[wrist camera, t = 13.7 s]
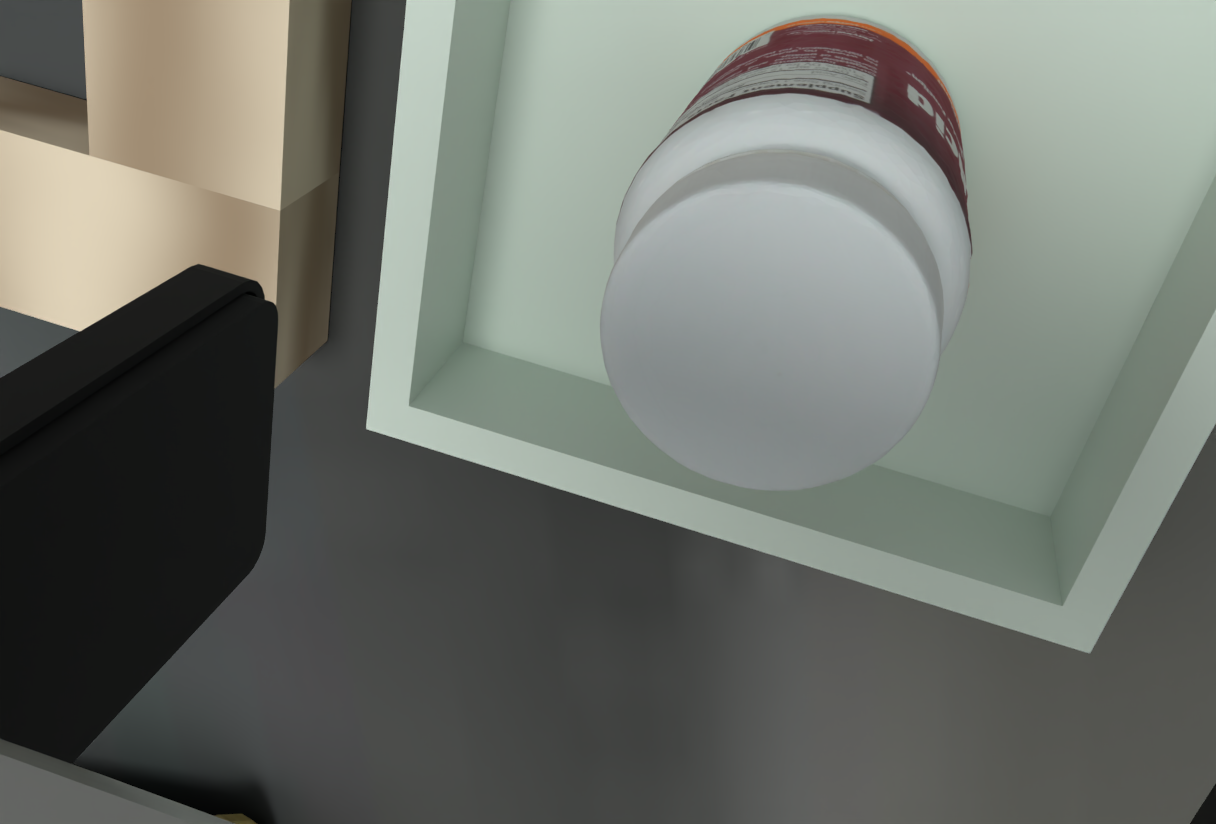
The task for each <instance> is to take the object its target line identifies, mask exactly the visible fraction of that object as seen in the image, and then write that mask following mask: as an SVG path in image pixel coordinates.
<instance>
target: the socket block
mask: <svg viewBox="0 0 1216 824" xmlns="http://www.w3.org/2000/svg"><path fill="white" fill-rule="evenodd" d="M351 1H352V0H82V3H83V25H84V47H85V69H86V90H87V101H86V100H83V99H79V98H76V97H72V96H69V95H65V94H62V93H58V92H55V91H51V90H48V89H44V88H40V87H37V86H33V85H30V84H26V83H23V82H19V81H16V80H12V79H9V78H5V77H2V76H0V307H3V308H6V309H10V310H13V311H16V312H19V313H23V314H26V315H29V316H32V317H35V318H39V319H42V320H45V321H48V322H52V323H55V324H58V325H61V326H65V327H68V328H71V329H74V330H77V331H82V330H83V329H85V328H87V327H88V326H90V325H92V324H94V323H95V322H97V321H99V320H100V319H102V318H104V317H105V316H107V315H109V314H111V313H112V312H114V311H116V310H117V309H119V308H121V307H122V306H124V305H126V304H128V303H129V302H131V301H133V300H134V299H136V298H138V297H139V296H141V295H143V294H145V293H146V292H148V291H150V290H151V289H153V288H155V287H157V286H158V285H160V284H162V283H163V282H165V281H167V280H168V279H170V278H172V277H174V276H175V275H177V274H179V273H180V272H182V271H184V270H185V269H187V268H189V267H191V266H194V265H197V264H201V265H205V266H209V267H212V268H215V269H219V270H222V271H225V272H228V273H232V274H235V275H238V276H241V277H245V278H248V279H251V280H255V281H257V282H258V283H259V284H260V285H261V286H262V289H263V292H264V295H265V300H268V301H271V302H273V303H274V304H275V305H276V307H277V311H278V335H277V352H276V368H275V385H274V389H275V388H276V387H277V386H278V385H279V384H280V383H281V382H283V381H284V380H285V379H286V378H287V377H288V376H289V375H290V374H291V373H292V372H293V371H295V370H296V369H297V368H298V367H299V366H300V365H301V364H302V363H303V362H304V361H305V360H307V359H308V358H309V357H310V356H311V355H312V354H313V353H314V352H315V351H316V350H317V349H319V348H320V347H321V346H322V345H323V344H324V343H325V342H326V341H327V339H328V325H329V311H330V297H331V283H332V269H333V255H334V240H335V226H336V212H337V198H338V184H339V170H340V156H341V142H342V128H343V114H344V100H345V85H346V71H347V57H348V43H349V29H350V15H351Z"/></svg>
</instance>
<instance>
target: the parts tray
mask: <svg viewBox="0 0 1216 824" xmlns="http://www.w3.org/2000/svg"><path fill="white" fill-rule="evenodd" d="M811 15H841V16H848V17H854V18H859V19H863V20H867V21H870V22H873V23H876V24H879V25H882V26H885V27H886V28H888V29H890V30H892V31H894V32H896V33H897V34H899V35H901V36H902V37H904V38H906V39H907V40H908V41H910V42H911V43H912V44H914V45H915V46H916V47H917V48H918V49H919V50H920V51H922V52H923V53H924V54H925V55H926V57H927V58H928V59H929V60H930V61H931V62H932V63H933V64H934V65H935V67H936V68H937V70H938V71H939V72H940V74H941V75H942V77H943V78H944V81H945V83H946V85H947V87H948V89H949V91H950V93H951V95H952V98H953V101H954V104H955V107H956V110H957V114H958V117H959V121H960V127H961V135H962V146H963V154H964V159H965V175H966V188H967V194H968V198H967V209H968V220H969V225H970V231H971V240H972V252H973V253H972V256H971V259H970V276H969V288H968V293H967V299H966V302H965V305H964V308H963V311H962V314H961V317H960V320H959V322H958V324H957V327H956V329H955V331H954V333H953V336H952V338H951V340H950V341H949V343H948V345H947V347H946V349H945V350H944V352H943V353H942V355H941V356H940V361H939V366H938V372H937V376H936V379H935V382H934V386H933V389H932V391H931V394H930V396H929V399H928V401H927V403H926V405H925V407H924V409H923V411H922V413H921V414H920V416H919V418H918V419H917V421H916V422H915V424H914V425H913V426H912V428H911V429H910V431H909V432H908V433H907V434H906V435H905V436H904V437H903V439H902V440H901V441H900V442H898V443H897V444H896V445H895V446H894V447H893V448H892V449H891V450H890V451H889V452H888V453H887V454H886V455H884V456H883V457H882V458H880V459H879V460H878V461H876V462H875V463H873V464H871V465H869V466H868V467H866V468H864V469H863V470H861V471H859V472H857V473H855V474H853V475H851V476H848V477H846V478H843V479H841V480H838V481H836V482H832V483H829V484H825V485H822V486H817V487H813V488H807V489H801V490H792V491H769V490H754V489H749V488H743V487H738V486H735V485H731V484H727V483H723V482H720V481H716V480H713V479H711V478H708V477H706V476H704V475H702V474H699V473H697V472H695V471H692V470H690V469H688V468H687V467H685V466H683V465H681V464H679V463H678V462H676V461H675V460H674V459H672V458H671V457H670V456H668V455H667V454H665V453H664V452H663V451H661V450H660V449H659V448H658V447H657V446H655V445H654V444H653V443H652V442H651V441H650V440H649V439H648V438H647V437H646V436H645V435H644V434H643V433H642V432H641V431H640V429H639V428H638V427H637V426H636V425H635V424H634V422H633V421H632V420H631V419H630V417H629V416H628V414H627V413H626V411H625V410H624V408H623V407H622V405H621V403H620V401H619V399H618V397H617V395H616V393H615V391H614V389H613V387H612V385H611V383H610V381H609V377H608V374H607V371H606V368H605V365H604V360H603V354H602V347H601V338H600V317H601V308H602V302H603V297H604V293H605V289H606V285H607V282H608V279H609V276H610V273H611V271H612V268H613V266H614V240H615V231H616V223H617V220H618V216H619V213H620V209H621V206H622V202H623V199H624V197H625V194H626V193H627V191H628V189H629V187H630V185H631V183H632V181H633V179H634V177H635V175H636V174H637V172H638V170H639V169H640V167H641V166H642V164H643V163H644V161H645V160H646V159H647V157H648V156H649V155H650V154H651V153H652V152H653V151H654V150H655V149H656V147H657V146H658V145H659V144H660V142H661V141H662V140H663V139H664V137H665V136H666V135H667V133H668V132H669V130H670V129H671V127H672V126H673V125H674V124H675V122H676V121H677V120H678V118H679V117H680V116H681V114H682V113H683V112H684V111H685V109H686V108H687V106H688V104H689V103H690V102H691V101H692V100H693V98H694V97H695V96H696V95H697V94H698V92H699V91H700V89H701V88H702V87H703V85H704V84H705V83H706V82H707V80H708V79H709V77H710V76H711V75H712V74H713V73H714V71H715V70H716V69H717V67H718V66H719V65H720V64H721V63H722V62H723V61H724V60H725V59H726V58H727V57H728V56H729V54H730V53H732V52H733V51H734V50H735V49H736V48H737V47H738V46H740V45H741V44H742V43H744V42H745V41H746V40H748V39H749V38H751V37H752V36H754V35H756V34H757V33H759V32H761V31H763V30H765V29H767V28H769V27H771V26H773V25H776V24H778V23H780V22H783V21H786V20H790V19H794V18H799V17H805V16H811ZM1215 424H1216V0H407V3H406V14H405V24H404V35H403V45H402V56H401V66H400V77H399V87H398V98H397V108H396V119H395V129H394V140H393V150H392V161H391V172H390V182H389V193H388V203H387V214H386V224H385V235H384V245H383V256H382V266H381V277H380V287H379V298H378V308H377V319H376V330H375V340H374V351H373V361H372V372H371V382H370V393H369V403H368V414H367V424H366V429H368V430H371V431H375V432H378V433H381V434H384V435H387V436H391V437H394V438H397V439H400V440H403V441H407V442H410V443H413V444H416V445H420V446H423V447H426V448H429V449H432V450H436V451H439V452H442V453H445V454H449V455H452V456H455V457H458V458H461V459H465V460H468V461H471V462H474V463H478V464H481V465H484V466H487V467H490V468H494V469H497V470H500V471H503V472H507V473H510V474H513V475H516V476H519V477H523V478H526V479H529V480H532V481H536V482H539V483H542V484H545V485H548V486H552V487H555V488H558V489H561V490H565V491H568V492H571V493H574V494H577V495H581V496H584V497H587V498H590V499H593V500H597V501H600V502H603V503H606V504H610V505H613V506H616V507H619V508H622V509H626V510H629V511H632V512H635V513H639V514H642V515H645V516H648V517H651V518H655V519H658V520H661V521H664V522H668V523H671V524H674V525H677V526H680V527H684V528H687V529H690V530H693V531H697V532H700V533H703V534H706V535H709V536H713V537H716V538H719V539H722V540H726V541H729V542H732V543H735V544H738V545H742V546H745V547H748V548H751V549H754V550H758V551H761V552H764V553H767V554H771V555H774V556H777V557H780V558H783V559H787V560H790V561H793V562H796V563H800V564H803V565H806V566H809V567H812V568H816V569H819V570H822V571H825V572H829V573H832V574H835V575H838V576H841V577H845V578H848V579H851V580H854V581H858V582H861V583H864V584H867V585H870V586H874V587H877V588H880V589H883V590H887V591H890V592H893V593H896V594H899V595H903V596H906V597H909V598H912V599H916V600H919V601H922V602H925V603H928V604H932V605H935V606H938V607H941V608H944V609H948V610H951V611H954V612H957V613H961V614H964V615H967V616H970V617H973V618H977V619H980V620H983V621H986V622H990V623H993V624H996V625H999V626H1002V627H1006V628H1009V629H1012V630H1015V631H1019V632H1022V633H1025V634H1028V635H1031V636H1035V637H1038V638H1041V639H1044V640H1048V641H1051V642H1054V643H1057V644H1060V645H1064V646H1067V647H1070V648H1073V649H1077V650H1080V651H1083V652H1086V653H1089V654H1090V653H1091V651H1092V649H1093V647H1094V645H1095V643H1096V642H1097V640H1098V638H1099V636H1100V634H1101V632H1102V631H1103V629H1104V627H1105V625H1106V623H1107V621H1108V620H1109V618H1110V616H1111V614H1112V612H1113V610H1114V609H1115V607H1116V605H1117V603H1118V601H1119V599H1120V598H1121V596H1122V594H1123V592H1124V590H1125V588H1126V587H1127V585H1128V583H1129V581H1130V579H1131V577H1132V576H1133V574H1134V572H1135V570H1136V568H1137V567H1138V565H1139V563H1140V561H1141V559H1142V557H1143V556H1144V554H1145V552H1146V550H1147V548H1148V546H1149V545H1150V543H1151V541H1152V539H1153V537H1154V535H1155V534H1156V532H1157V530H1158V528H1159V526H1160V524H1161V523H1162V521H1163V519H1164V517H1165V515H1166V513H1167V512H1168V510H1169V508H1170V506H1171V504H1172V502H1173V501H1174V499H1175V497H1176V495H1177V493H1178V491H1179V490H1180V488H1181V486H1182V484H1183V482H1184V481H1185V479H1186V477H1187V475H1188V473H1189V471H1190V470H1191V468H1192V466H1193V464H1194V462H1195V460H1196V459H1197V457H1198V455H1199V453H1200V451H1201V449H1202V448H1203V446H1204V444H1205V442H1206V440H1207V438H1208V437H1209V435H1210V433H1211V431H1212V429H1213V427H1214V426H1215Z"/></svg>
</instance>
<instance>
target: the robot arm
mask: <svg viewBox="0 0 1216 824" xmlns="http://www.w3.org/2000/svg"><path fill="white" fill-rule="evenodd" d="M277 335H278V311H277V307H276V305H275V304H274V303H273V302H271V301H268V300H265V295H264V292H263V289H262V286H261V285H260V284H259V283H258V282H257V281H255V280H251V279H248V278H245V277H241V276H238V275H235V274H232V273H228V272H225V271H222V270H219V269H215V268H212V267H209V266H205V265H201V264H197V265H194V266H191V267H189V268H187V269H185V270H184V271H182V272H180V273H179V274H177V275H175V276H174V277H172V278H170V279H168V280H167V281H165V282H163V283H162V284H160V285H158V286H157V287H155V288H153V289H151V290H150V291H148V292H146V293H145V294H143V295H141V296H139V297H138V298H136V299H134V300H133V301H131V302H129V303H128V304H126V305H124V306H122V307H121V308H119V309H117V310H116V311H114V312H112V313H111V314H109V315H107V316H105V317H104V318H102V319H100V320H99V321H97V322H95V323H94V324H92V325H90V326H88V327H87V328H85V329H83V330H82V331H80V332H78V333H77V334H75V335H73V336H71V337H70V338H68V339H66V340H65V341H63V342H61V343H60V344H58V345H56V346H54V347H53V348H51V349H49V350H48V351H46V352H44V353H43V354H41V355H39V356H37V357H36V358H34V359H32V360H31V361H29V362H27V363H26V364H24V365H22V366H20V367H19V368H17V369H15V370H14V371H12V372H10V373H9V374H7V375H5V376H3V377H2V378H0V824H235V823H232V822H229V821H227V820H224V819H221V818H218V817H216V816H213V815H210V814H207V813H205V812H202V811H199V810H197V809H194V808H191V807H188V806H186V805H183V804H180V803H177V802H175V801H172V800H169V799H167V798H164V797H161V796H158V795H156V794H153V793H150V792H148V791H145V790H142V789H139V788H137V787H134V786H131V785H128V784H126V783H123V782H120V781H118V780H115V779H112V778H109V777H107V776H104V775H101V774H99V773H96V772H93V771H90V770H87V769H84V768H82V767H79V766H76V765H73V764H72V763H73V762H74V761H75V760H76V758H77V757H78V756H79V755H80V754H81V753H82V752H83V751H84V750H85V749H86V748H87V747H88V746H89V745H90V743H91V742H92V741H93V740H94V739H95V738H96V737H97V736H98V735H99V734H100V733H101V732H102V731H103V730H104V728H105V727H106V726H107V725H108V724H109V723H110V722H111V721H112V720H113V719H114V718H115V717H116V716H117V715H118V713H119V712H120V711H121V710H122V709H123V708H124V707H125V706H126V705H127V704H128V703H129V702H130V701H131V699H132V698H133V697H134V696H135V695H136V694H137V693H138V692H139V691H140V690H141V689H142V688H143V687H144V686H145V684H146V683H147V682H148V681H149V680H150V679H151V678H152V677H153V676H154V675H155V674H156V673H157V672H158V671H159V669H160V668H161V667H162V666H163V665H164V664H165V663H166V662H167V661H168V660H169V659H170V658H171V657H172V656H173V654H174V653H175V652H176V651H177V650H178V649H179V648H180V647H181V646H182V645H183V644H184V643H185V642H186V641H187V639H188V638H189V637H190V636H191V635H192V634H193V633H194V632H195V631H196V630H197V629H198V628H199V627H200V625H201V624H202V623H203V622H204V621H205V620H206V619H207V618H208V617H209V616H210V615H211V614H212V613H213V612H214V610H215V609H216V608H217V607H218V606H219V605H220V604H221V603H222V602H223V601H224V600H225V599H226V598H227V597H228V595H229V594H230V593H231V592H232V591H233V590H234V589H235V588H236V587H237V586H238V585H239V584H240V583H241V582H242V580H243V579H244V578H245V577H246V576H247V575H248V574H249V573H250V571H251V570H252V569H253V567H254V566H255V564H256V562H257V560H258V558H259V556H260V553H261V551H262V548H263V544H264V540H265V533H266V516H267V500H268V483H269V467H270V451H271V434H272V418H273V401H274V385H275V368H276V352H277ZM1190 824H1216V784H1215V786H1214V787H1213V789H1212V790H1211V792H1210V793H1209V795H1208V797H1207V798H1206V800H1205V801H1204V803H1203V804H1202V806H1201V807H1200V809H1199V810H1198V812H1197V813H1196V815H1195V817H1194V818H1193V820H1192V821H1191V823H1190Z"/></svg>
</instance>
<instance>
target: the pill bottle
mask: <svg viewBox="0 0 1216 824" xmlns="http://www.w3.org/2000/svg"><path fill="white" fill-rule="evenodd" d="M967 198H968V194H967V188H966V175H965V159H964V154H963V146H962V135H961V127H960V121H959V117H958V114H957V110H956V107H955V104H954V101H953V98H952V95H951V93H950V91H949V89H948V87H947V85H946V83H945V81H944V78H943V77H942V75H941V74H940V72H939V71H938V70H937V68H936V67H935V65H934V64H933V63H932V62H931V61H930V60H929V59H928V58H927V57H926V55H925V54H924V53H923V52H922V51H920V50H919V49H918V48H917V47H916V46H915V45H914V44H912V43H911V42H910V41H908V40H907V39H906V38H904V37H902V36H901V35H899V34H897V33H896V32H894V31H892V30H890V29H888V28H886V27H885V26H882V25H879V24H876V23H873V22H870V21H867V20H863V19H859V18H854V17H848V16H841V15H811V16H805V17H799V18H794V19H790V20H786V21H783V22H780V23H778V24H776V25H773V26H771V27H769V28H767V29H765V30H763V31H761V32H759V33H757V34H756V35H754V36H752V37H751V38H749V39H748V40H746V41H745V42H744V43H742V44H741V45H740V46H738V47H737V48H736V49H735V50H734V51H733V52H732V53H730V54H729V56H728V57H727V58H726V59H725V60H724V61H723V62H722V63H721V64H720V65H719V66H718V67H717V69H716V70H715V71H714V73H713V74H712V75H711V76H710V77H709V79H708V80H707V82H706V83H705V84H704V85H703V87H702V88H701V89H700V91H699V92H698V94H697V95H696V96H695V97H694V98H693V100H692V101H691V102H690V103H689V104H688V106H687V108H686V109H685V111H684V112H683V113H682V114H681V116H680V117H679V118H678V120H677V121H676V122H675V124H674V125H673V126H672V127H671V129H670V130H669V132H668V133H667V135H666V136H665V137H664V139H663V140H662V141H661V142H660V144H659V145H658V146H657V147H656V149H655V150H654V151H653V152H652V153H651V154H650V155H649V156H648V157H647V159H646V160H645V161H644V163H643V164H642V166H641V167H640V169H639V170H638V172H637V174H636V175H635V177H634V179H633V181H632V183H631V185H630V187H629V189H628V191H627V193H626V194H625V197H624V199H623V202H622V206H621V209H620V213H619V216H618V220H617V223H616V231H615V240H614V266H613V268H612V271H611V273H610V276H609V279H608V282H607V285H606V289H605V293H604V297H603V302H602V308H601V317H600V338H601V347H602V354H603V360H604V365H605V368H606V371H607V374H608V377H609V381H610V383H611V385H612V387H613V389H614V391H615V393H616V395H617V397H618V399H619V401H620V403H621V405H622V407H623V408H624V410H625V411H626V413H627V414H628V416H629V417H630V419H631V420H632V421H633V422H634V424H635V425H636V426H637V427H638V428H639V429H640V431H641V432H642V433H643V434H644V435H645V436H646V437H647V438H648V439H649V440H650V441H651V442H652V443H653V444H654V445H655V446H657V447H658V448H659V449H660V450H661V451H663V452H664V453H665V454H667V455H668V456H670V457H671V458H672V459H674V460H675V461H676V462H678V463H679V464H681V465H683V466H685V467H687V468H688V469H690V470H692V471H695V472H697V473H699V474H702V475H704V476H706V477H708V478H711V479H713V480H716V481H720V482H723V483H727V484H731V485H735V486H738V487H743V488H749V489H754V490H769V491H792V490H801V489H807V488H813V487H817V486H822V485H825V484H829V483H832V482H836V481H838V480H841V479H843V478H846V477H848V476H851V475H853V474H855V473H857V472H859V471H861V470H863V469H864V468H866V467H868V466H869V465H871V464H873V463H875V462H876V461H878V460H879V459H880V458H882V457H883V456H884V455H886V454H887V453H888V452H889V451H890V450H891V449H892V448H893V447H894V446H895V445H896V444H897V443H898V442H900V441H901V440H902V439H903V437H904V436H905V435H906V434H907V433H908V432H909V431H910V429H911V428H912V426H913V425H914V424H915V422H916V421H917V419H918V418H919V416H920V414H921V413H922V411H923V409H924V407H925V405H926V403H927V401H928V399H929V396H930V394H931V391H932V389H933V386H934V382H935V379H936V376H937V372H938V366H939V361H940V356H941V355H942V353H943V352H944V350H945V349H946V347H947V345H948V343H949V341H950V340H951V338H952V336H953V333H954V331H955V329H956V327H957V324H958V322H959V320H960V317H961V314H962V311H963V308H964V305H965V302H966V299H967V293H968V288H969V276H970V259H971V256H972V253H973V252H972V240H971V231H970V225H969V220H968V209H967Z"/></svg>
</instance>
